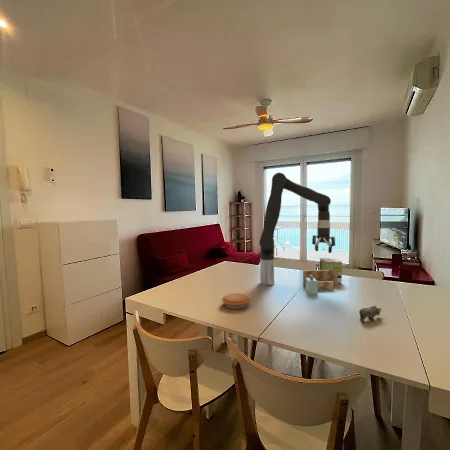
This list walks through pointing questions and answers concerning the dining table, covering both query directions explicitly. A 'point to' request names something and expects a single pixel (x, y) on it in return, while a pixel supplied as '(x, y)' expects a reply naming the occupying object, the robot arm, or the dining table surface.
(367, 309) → the rhino figurine
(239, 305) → the pie
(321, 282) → the wooden stand
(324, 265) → the tea box
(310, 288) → the tall sage green box
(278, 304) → the dining table surface
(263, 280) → the robot arm
